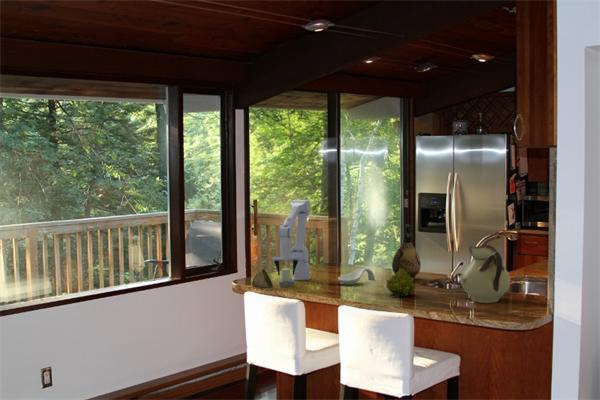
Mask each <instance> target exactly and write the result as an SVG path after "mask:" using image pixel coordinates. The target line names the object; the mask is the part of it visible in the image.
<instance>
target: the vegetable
mask: <svg viewBox="0 0 600 400" xmlns="http://www.w3.org/2000/svg"><path fill="white" fill-rule="evenodd" d="M407 274H408V272H406V271H404V270H403V269H402V268H399V271H398V272H397V273H396V274H395V273H394V274H392V275H391V277H390V278H389V279H387V280H386V283H387V284H386V287H387V290H388V291H389V293H392V298H395V297H396V298H399V297H404V298H406V297H407V296H409V295H410V294H412V293H413V292H414V291H415V290H416V287H417V284H416V283H414V280H415V278H410V276H409V275H407Z"/></svg>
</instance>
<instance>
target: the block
mask: <svg viewBox="0 0 600 400" xmlns="http://www.w3.org/2000/svg"><path fill="white" fill-rule="evenodd" d="M281 279H282V281H291V279H292V278H291V268H289V267H288V268H287V267H285V268H281Z"/></svg>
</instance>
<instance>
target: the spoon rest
mask: <svg viewBox="0 0 600 400" xmlns="http://www.w3.org/2000/svg"><path fill="white" fill-rule="evenodd" d="M364 272H366V273H367V279H368V280H371V281H375V280H376V278H375V275H374V273H373V270H371V269H369V268H365V267H361V268H359V269H356V270H353V271H351V272H349V273H347V274H344V275H340V276H338V277H337V280H338V282H339V283H341V284H343V285H346V286H353V285H356V284H357V283H358V282H360V279H361V277H362V276H363V273H364Z"/></svg>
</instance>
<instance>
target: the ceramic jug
mask: <svg viewBox="0 0 600 400" xmlns="http://www.w3.org/2000/svg"><path fill="white" fill-rule="evenodd" d="M413 233H414V229H413V228H411V225H410V224H405V225H404V226H403V241H402V244H401V245H400V246H399V247H398V249H397V250H396V252H395V253H394V255H393V259H392V263H391V268H392V270H393V273H394V275H395V274H396V273H397V272H398V271H399V268H402V269H403V270H404V271H406V272H408V274H407V275H409V276H410V278H414V279H415V278H416V276H417V275H418V274H419V273H420V270H421V266H422V265H421V258H420V256H419V254H418V252H417V249H416V248H415V246H414V245H413V243H412V241H411V236H412V235H413Z"/></svg>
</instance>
